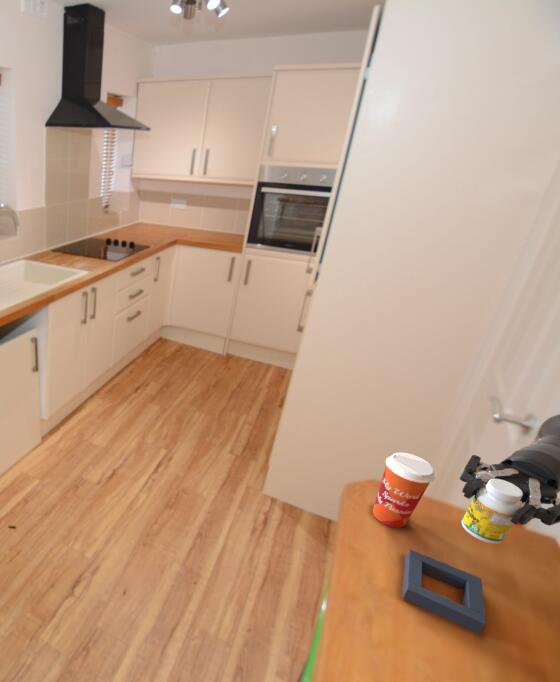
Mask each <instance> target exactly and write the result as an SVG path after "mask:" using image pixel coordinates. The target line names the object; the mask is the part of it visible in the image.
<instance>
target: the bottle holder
mask: <svg viewBox="0 0 560 682" xmlns="http://www.w3.org/2000/svg"><path fill="white" fill-rule="evenodd" d="M423 575H426V576H428V577H431V578H433V579H436V580H438V581H440V582H442V583H444V584H447V585H449V586H452V587H454V588H456V589H459V590H461V595H462V604H461V603H459V602H457V601H454V600H451V599H449V598H447V597H445V596H443V595H441V594H438V593H436V592H434V591H432V590H429V589H428V588H426V587H422V586H423ZM482 582H483V581H482V578H481V577H479V576H476V575H474V574H471V573H469V572H467V571H464V570H461V569H459V568H458V567H454V566H452V565H450V564H447V563H444V562H443V561H440V560H438V559H435V558H432V557H430V556H428V555H425V554H423V553H420V552H418V551H415V550H413V549H408V551H407V554H406V556H405V558H404V570H403V584H402V585H403V587H402V599H403V600H405V601H407V602H410V603H411V604H413V605H416V606H418V607H420V608H422V609H424V610H427V611H429V612H431V613H432V614H435V615H438V616H439V617H441V618H444V619H446V620H448V621H450V622H452V623H455V624H457V625H459V626H461V627H464V628H466V629H467V630H469V631H472V632H474V633H476V634H478V635H480V634H481V633H482V631H483V630H484V628H485V627H486V626H487V621H486V610H485V601H484V591H483V583H482Z"/></svg>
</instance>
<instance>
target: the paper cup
mask: <svg viewBox="0 0 560 682" xmlns="http://www.w3.org/2000/svg"><path fill="white" fill-rule="evenodd" d="M385 464H386V465H385V468H384V471H383V473H382V478H381V482H380V485H379V489H378V491H377V495H376V499H375V502H374V505H373V509H372V514H373V516H374V517H375V518H376V519H377V520H378V521H379V522H381V523H382V524H383V525H385V526H387V527H391V528H396V529H401V528H403V527H405V526H406V525H407V523H408V522H409V519H410V518H411V516H412V514H413V513H414V511H415V510H416V508H417V506H418V505H419V503H420V501H421V499H422V497H423V495H424V494H425V492H426V491H427V489H428V487H429V485H430V484H431V483H433V482H435V481H436V478H437V476H436V473H435V470H434V467H433V466H432V465H431V464H430V463H429V462H428V461H427V460H425V459H424V458H422V457H420V456H418V455H415V454H413V453H409V452H404V451H403V452H402V451H401V452H399V451H398V452H394V453H393V454H392V455H390V456H388V457H387V458H386V459H385Z"/></svg>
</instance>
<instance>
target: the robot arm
mask: <svg viewBox="0 0 560 682" xmlns="http://www.w3.org/2000/svg"><path fill="white" fill-rule="evenodd" d="M481 460H482V458H481V456H479V455H477V454H472V455H471V456H470V458H469V459H468V461H467V463H466V465H465V466H464V469H463V471H462V473H461V474H460V476H459V480H460V481H462V482H463V483H465V484H464V486H463V488H462V490H461V492H462V493H463V497H465V498H466V499H468V500H470V499H471V498H474V496H475V494H476V492H477V491H478V490H479V489H481V488H486V485H487V483H488V482H489V480H491V479H501V480H504V481H507V482H510V483H512V484H514V485H515V486H517V487H518V488H519V489H520V490H521V491H522V492H523V496H522V497H521V499H520V501H519V503H520V505H521V508H520V509H519V510H518V511H517V512H516V513H515V515H514V516H513V518H512V520H511V522H512V523H514V524H515V525H518V524H521V525H522V526H523V525H527V524H528V523H529V522H531V521H532V520H534V519H538V520H540V522H541V523H542V524H544V525H546V526H554V525H556V524H559V523H560V498H559V497H558V494H559V493H560V413H558V414H556V415H553V416H551V417H549V418H547V419H546V420H545V421H543V422H542V424H541V425H540V427H539V428H538V431H537V433H536V435H535V439H534V441H533V442H532V443H530V444H529V445H526V446H524V447H522V448H520V449H518V450H515V451H514V452H513V453H512V454H511V455H509V456H508V457H506V458H505V459H503V460H502V461H501V462H499V463H493V464H488V463H485V462H483V461H481ZM480 472H481V473H480ZM482 472H486V473H482ZM542 504H543V505H552V506H550V507H548V508H545V507H542ZM514 524H513V525H514Z"/></svg>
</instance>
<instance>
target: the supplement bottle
mask: <svg viewBox="0 0 560 682" xmlns="http://www.w3.org/2000/svg"><path fill="white" fill-rule="evenodd" d="M522 496H523V492H522V491H521V490H520V489H519V488H518V487H517V486H515V485H514V484H512V483H510V482H507V481H504V480H501V479H491V480H489V482H488V483H487V485H486V488H481V489H479V490H478V491H477V492H476V494H475V495H474V496H473V497H472V500H471V502H470V503H469V505H468V507H467V509H466V512H465V513H464V515H463V517H462V520H461V526H462V528H463V529H464V531H466V533H468V534H469V535H471V536H472V537H474V538H475V539H477V540H480V541H481V542H484V543H487V544H491V545H492V544H493V545H494V544H495V545H496V544H501V543H503V542H504V541H505V539H506V538H507V536H508V534H509V533H510V531H511V530H512V528H513V526H514V523H512V522H511V520H512V518H513V516H514V515H515V513H516V512H517V511H518V510H519V509H520V508H521V504H520V499H521V497H522Z"/></svg>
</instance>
